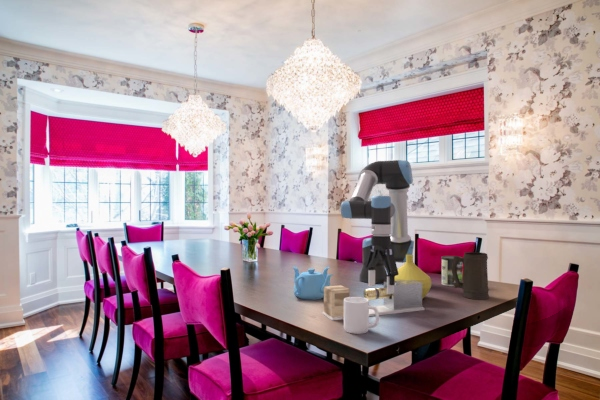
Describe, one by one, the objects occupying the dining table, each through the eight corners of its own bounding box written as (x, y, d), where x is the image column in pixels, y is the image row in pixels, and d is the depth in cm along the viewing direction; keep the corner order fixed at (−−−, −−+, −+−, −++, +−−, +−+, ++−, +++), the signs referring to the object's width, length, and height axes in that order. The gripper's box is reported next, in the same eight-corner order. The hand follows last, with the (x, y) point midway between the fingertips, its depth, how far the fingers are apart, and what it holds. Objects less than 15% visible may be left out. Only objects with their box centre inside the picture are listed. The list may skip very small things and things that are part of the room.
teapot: (328, 291, 188) (328, 265, 188) (333, 301, 170) (333, 272, 170) (292, 291, 188) (292, 265, 188) (293, 301, 169) (293, 272, 169)
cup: (349, 324, 138) (349, 295, 138) (382, 330, 132) (382, 299, 132) (339, 331, 131) (339, 300, 131) (375, 337, 125) (375, 305, 125)
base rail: (322, 313, 151) (322, 311, 151) (410, 304, 165) (410, 302, 165) (331, 320, 142) (331, 318, 142) (424, 310, 156) (424, 307, 156)
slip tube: (406, 294, 161) (407, 284, 161) (413, 296, 157) (413, 286, 157) (363, 298, 154) (363, 288, 154) (368, 301, 150) (368, 290, 150)
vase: (408, 306, 162) (408, 259, 162) (379, 296, 178) (379, 253, 178) (440, 300, 171) (440, 256, 171) (410, 291, 187) (410, 251, 187)
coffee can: (466, 284, 203) (466, 257, 203) (456, 287, 196) (456, 259, 196) (447, 281, 211) (447, 255, 211) (437, 284, 204) (437, 256, 204)
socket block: (323, 314, 150) (323, 286, 150) (341, 312, 153) (341, 285, 153) (331, 319, 144) (331, 290, 143) (349, 317, 146) (349, 289, 146)
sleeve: (383, 307, 159) (383, 281, 159) (411, 305, 164) (411, 279, 164) (393, 312, 153) (393, 285, 152) (422, 309, 157) (422, 282, 157)
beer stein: (489, 295, 181) (486, 251, 181) (492, 300, 171) (488, 254, 171) (453, 294, 186) (450, 252, 186) (454, 300, 176) (450, 254, 176)
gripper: (357, 233, 165) (356, 284, 165) (390, 238, 142) (390, 297, 141) (372, 232, 168) (372, 283, 167) (408, 237, 144) (408, 296, 144)
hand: (380, 289), depth 154 cm, fingers open, 13 cm apart
